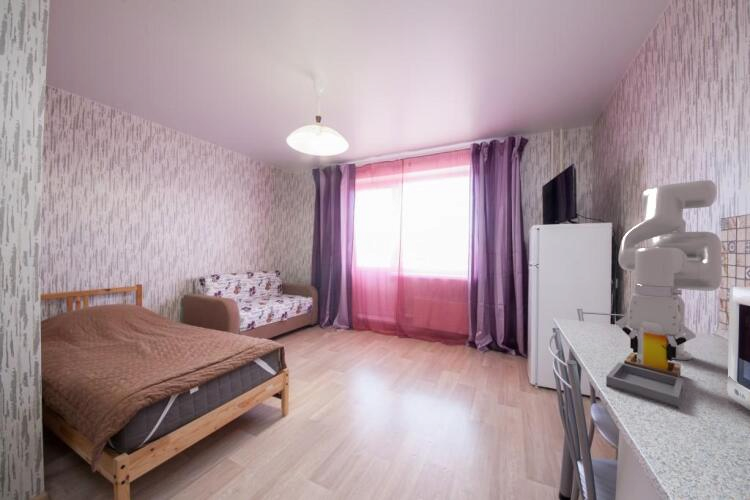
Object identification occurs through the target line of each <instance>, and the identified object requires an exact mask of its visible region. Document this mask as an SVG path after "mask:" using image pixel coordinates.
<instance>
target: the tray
mask: <svg viewBox="0 0 750 500" xmlns="http://www.w3.org/2000/svg"><path fill="white" fill-rule="evenodd" d="M605 378H606V381H605V382H606V383H605V384H606V387H608V388H612V389H615V390H618V391H621V392H624V393H626V394H629V395H633V396H636V397H639V398H642V399H645V400H649V401H652V402H655V403H659V404H662V405H665V406H667V407H671V408H674V409H678V410H680V409H679V408H680V405H681V400H682V395H683V390H684V378H681V377H680V378H678V377H674V376H670V375H666V374H662V373H659V372H655V371H651V370H647V369H643V368H639V367H635V366H631V365H627V364H624V362H620V361H619V362H617V364H615V366H614V367H613V368H612V369H611V370H610V372H609V373H608V374H607V375H606V377H605Z"/></svg>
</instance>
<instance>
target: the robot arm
mask: <svg viewBox="0 0 750 500" xmlns="http://www.w3.org/2000/svg"><path fill="white" fill-rule="evenodd" d="M716 197H717V186H716V184H715V182H714V181H712V180H710V179H706V180H704V179H703V180H694V181H693V180H692V181H688V182H687V181H686V182H678V183H671V184H664V185H659V186H654V187H651V188H648V189H646V190H644V191H643V193H642V194H641V204H642V208H643V211H644V215H643V221H642V222H639V223H638V224H636V225H635V226H633V227H632V228H631V229H630V230H628V232H626V234H625V235H624V236H623V237H622V239H621V241H620V248H619V251H618V264H619V267H620V268H621V269H623V270H624V271H629V272H634V293H631V296H630V298H629V303H628V311H627V315H625V316H624V317H621V318H620V319H617V321H616V322H615V324H616V325H617V327H619V328H620V329H621V330H622V331H623V332H624V333H625V334H626V336H628V338H630V339H629V340H630V344H629V345H630V346H629V347H630V349H632V353H634V354H637V333H638V330H640V327H641V323H643V322H645V321H646V320H647V321H653V322H658V324H660V325H661V326H662V327H663V333H664V334H665V335H666V337H667V339H668V340H669V345H668V358H667V360H668V361H669V362H672V360H678V361H681V360H682V361H687V360H689V361H690V360H691V359H692V354H691V353H689V352H688V351H686V350H685V343H686V342H688V341H690V340H693V339H694V338H696V337H697V334H696V333H694V331H692V330H691V329H690V328H688V327H687V325H686V324H685V323H686V321H685V319H686V318H685V317H686V316H685V313H686V311H685V310H686V305H685V301H684V299H683V298H682V297H681V295H682V290H688V291H701V292H704V291H705V292H712V291H716V290H718V289H719V288H720V286H721V284H722V275H723V273H722V265H723V264H722V242H721V239H720V237H719V236H718V235H717V234H716V233H713V232H712V231H711V232H710V231H686V228H687V226H686V225H687V223H686V221H685V219H684V218H683V214H684V213H683V211H684V210H687V209H688V210H689V209H699V208H701V209H702V208H708V207H711V206H712V205H713V204H714V203H715V200H716ZM647 240H649V242H648V247H647V246H645V247H644V246H642V247H641V246H636V245H638V244H640V243H641V242H644V241H647ZM626 322H627V323H626ZM625 323H626V324H627V325H626V324H625Z"/></svg>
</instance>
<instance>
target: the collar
mask: <svg viewBox="0 0 750 500" xmlns="http://www.w3.org/2000/svg"><path fill="white" fill-rule="evenodd" d="M623 361H624V362H623V363H624V364H627V365H631V366H635V367H639V368H643V369H647V370H651V371H655V372H659V373H662V374H666V375H670V376H674V377H678V378H681V367H682V366H681V363H677V362H672V361H669V360H668V371H667V370H663V369H659V368H655V367H651V366H647V365H643V364H639V363H637V353H633V352H630V353H629V355H627V356H626V358H625V359H624V360H623Z"/></svg>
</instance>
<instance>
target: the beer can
mask: <svg viewBox="0 0 750 500" xmlns="http://www.w3.org/2000/svg"><path fill="white" fill-rule="evenodd" d="M668 345H669V340H668V339H667V337H666V335H665V334H664V333H663V327H662V326H661V325H660V324H658V322H653V321H647V320H646V321H645V322H643V323H641V327H640V330H638V333H637V353H636V354H637V363H639V364H643V365H647V366H651V367H655V368H659V369H663V370H667V371H668V361H669V360H667V358H668Z"/></svg>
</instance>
